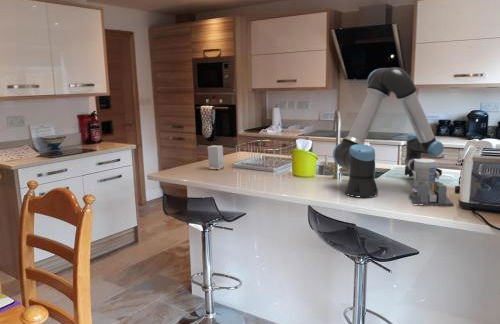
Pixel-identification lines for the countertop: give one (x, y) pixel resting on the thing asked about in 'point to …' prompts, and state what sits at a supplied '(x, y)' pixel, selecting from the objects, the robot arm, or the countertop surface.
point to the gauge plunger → (430, 190)
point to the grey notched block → (423, 195)
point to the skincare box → (215, 156)
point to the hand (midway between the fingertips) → (426, 176)
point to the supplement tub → (424, 171)
